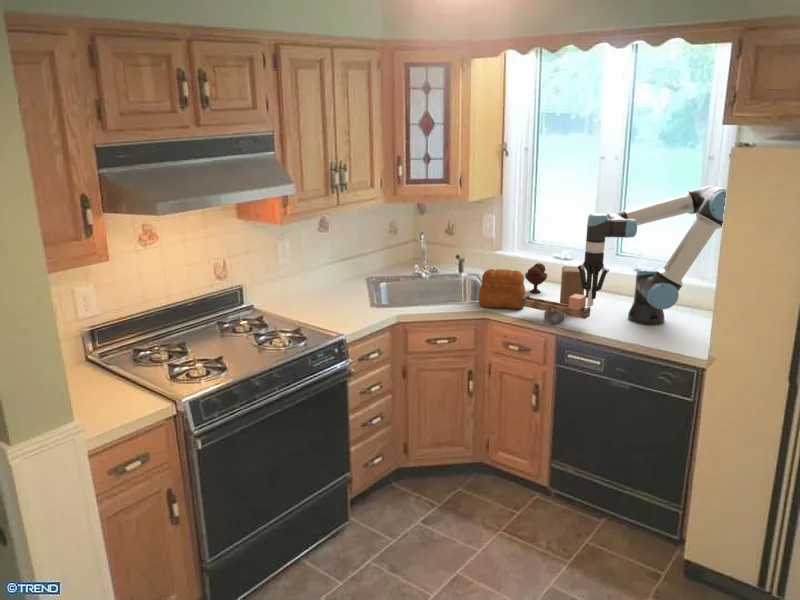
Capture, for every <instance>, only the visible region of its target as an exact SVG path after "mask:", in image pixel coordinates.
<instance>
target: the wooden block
mask: <svg viewBox="0 0 800 600" xmlns="http://www.w3.org/2000/svg"><path fill="white" fill-rule="evenodd" d="M584 270H585V271H586V269H584ZM560 278H561V279H560V280H561V281H560V294H559V303H562V304H568V305H569V297H570V296H572V295H574V294H579V295H584V294H585V289H583V288H582V284H581V277H580V271H579V269H578V266H566V265H565V266H562V267H561V277H560Z"/></svg>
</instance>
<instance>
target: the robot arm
mask: <svg viewBox="0 0 800 600" xmlns="http://www.w3.org/2000/svg"><path fill="white" fill-rule="evenodd" d="M726 189H727V188H723V187H721V186H717V185H709V186H708V185H707V186H703V187H700V188H697V189H693V190H688V191H686V192H684V193H683V195H680V196H679V195H678V196H675V197H671V198H667V199H664V200H660V201H656V202H652V203H648V204H644V205H641V206H637V207H633V208H629V209H625V210H622V211H617V212H616V211H609V212H607V213H603V212H601V213H600V212H595V213H592V212H591V213H590V214H589V215H588V217H587V224H586V237H585V239H586V240H585V248H584V249H585V252H584V261H583V262H582V264H580V265H578V266H577V267H578V269H579V271H580V277H581V284H582V288H583V289H584V291H585V296H586V299H587V300H586V301H587V302H586V306H587V307H592V306H594V299H596V297H597V292H599V291H601V290H602V287H603V284H604V282H605V279H606V275H607V274H608V273H609V271H610V269H609V268H606V267H605V265H604V256H605V253H604V251H605V247H606V238H626V239H627V238H634V237H636V235H637V233H638V226H640V225H644V224H648V223H652V222H656V221H660V220H665V219H669V218H672V217H676V216H680V215H684V214H689V215H693V214H695V217H696V218H695V220H694V221H693V223H692V225H691V226H690V228H689V229H688V231H687V233H686V234H685V235H684V237H683V238H682V240H681V242H680V243H679V244H678V246H676V249H675V250H674V251H673V253H672V255H671V257H669V259H668V261H667V262H666V263H665V265H664V266H663V268H660V269H659V268H640V269H638V270H636V276H635V287H634V297H633V302H632V305H631V307H630V308H629V311H628V314H627V315H628V316H627V319H628V320H629V321H630V322H633V323H636V324H640V325H646V326H658V325H661V324H663V323H664V322H665V312H664V310H668V309H670V308H673V306H674V305H675V304H676V303H677V302H678V300H679V297H680V296H679V295H680V294H679V291H680V290H681V289H682V287H683V278H684V277H685V276H686V274H687V272H689V270H690V268H691V267H692V265H693V264H694V262H695V261H696V259H697V258H698V256H699V255H700V253H701V252H702V251H703V249H704V248H705V247H706V245H707V244H708V242H709V240H710V239H711V238H712V236H713V235H714V233H715V232H716V230H718V229H722V228H723V227H722V223H723V214H724V206H725V198H726ZM584 269H585V270H584ZM600 272H601V274H599V273H600ZM599 275H600V277H599Z"/></svg>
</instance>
